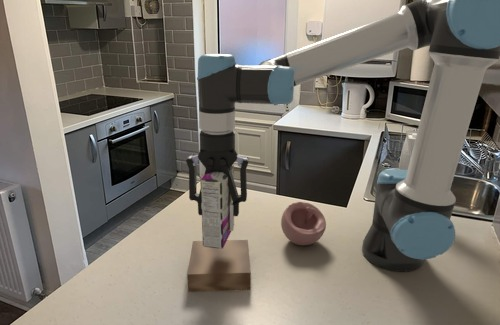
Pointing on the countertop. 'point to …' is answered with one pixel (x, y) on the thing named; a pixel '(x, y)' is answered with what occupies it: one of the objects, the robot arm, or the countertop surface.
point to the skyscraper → (407, 150)
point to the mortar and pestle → (303, 223)
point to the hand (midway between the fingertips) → (218, 227)
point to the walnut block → (219, 267)
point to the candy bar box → (215, 209)
